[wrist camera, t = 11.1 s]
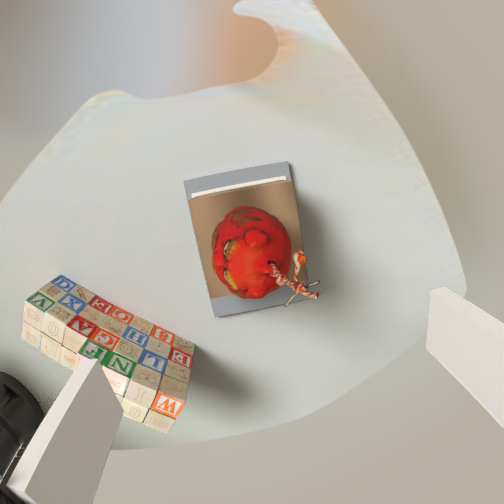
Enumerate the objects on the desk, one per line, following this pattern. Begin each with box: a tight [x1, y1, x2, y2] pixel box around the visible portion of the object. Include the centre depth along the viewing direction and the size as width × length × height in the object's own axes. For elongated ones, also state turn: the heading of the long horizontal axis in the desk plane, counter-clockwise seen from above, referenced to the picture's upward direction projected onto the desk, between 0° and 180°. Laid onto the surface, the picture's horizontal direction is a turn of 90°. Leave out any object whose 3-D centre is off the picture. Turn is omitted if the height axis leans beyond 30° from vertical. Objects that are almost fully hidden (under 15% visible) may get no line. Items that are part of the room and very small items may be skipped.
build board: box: [184, 161, 309, 317], centre depth 36 cm, size 12×17×1 cm
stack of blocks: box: [21, 275, 195, 433], centre depth 33 cm, size 21×6×12 cm, turn 62°
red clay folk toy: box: [211, 206, 320, 307], centre depth 22 cm, size 8×7×15 cm
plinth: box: [188, 180, 308, 299], centre depth 33 cm, size 10×10×6 cm
